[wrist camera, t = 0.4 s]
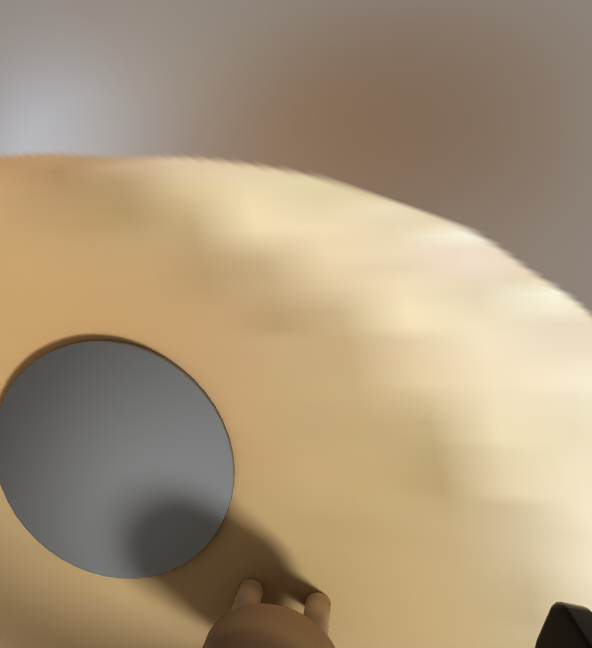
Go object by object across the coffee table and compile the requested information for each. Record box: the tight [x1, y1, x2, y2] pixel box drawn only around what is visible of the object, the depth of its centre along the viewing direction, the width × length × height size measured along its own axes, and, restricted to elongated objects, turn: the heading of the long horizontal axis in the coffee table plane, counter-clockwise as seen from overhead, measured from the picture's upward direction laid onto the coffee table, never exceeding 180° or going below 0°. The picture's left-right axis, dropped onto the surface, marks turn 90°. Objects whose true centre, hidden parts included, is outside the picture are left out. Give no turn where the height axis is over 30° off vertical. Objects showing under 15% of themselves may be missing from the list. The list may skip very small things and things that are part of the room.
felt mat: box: [0, 340, 234, 579], centre depth 24 cm, size 12×12×1 cm
